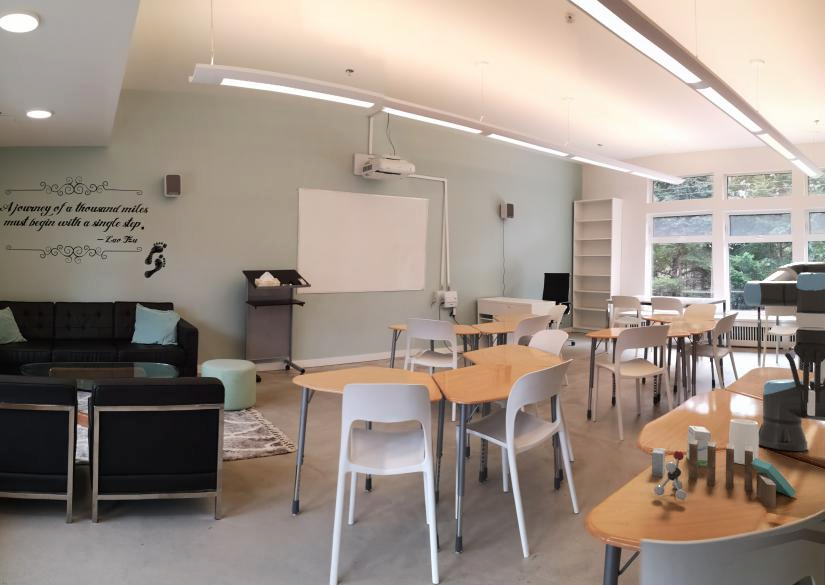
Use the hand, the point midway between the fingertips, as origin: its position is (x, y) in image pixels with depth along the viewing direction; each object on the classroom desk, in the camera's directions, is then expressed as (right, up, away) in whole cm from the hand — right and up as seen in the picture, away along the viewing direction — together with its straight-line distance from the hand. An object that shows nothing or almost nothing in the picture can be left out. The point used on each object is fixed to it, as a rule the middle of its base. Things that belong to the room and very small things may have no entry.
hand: (811, 414), depth 161 cm
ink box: (-17, -23, +29) cm, 40 cm away
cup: (-2, -23, +29) cm, 37 cm away
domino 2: (-22, -22, +12) cm, 33 cm away
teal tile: (-6, -22, +2) cm, 22 cm away
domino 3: (-17, -22, +9) cm, 30 cm away
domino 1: (-26, -22, +14) cm, 37 cm away
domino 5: (-13, -19, +1) cm, 23 cm away
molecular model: (-37, -22, +1) cm, 43 cm away
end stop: (-34, -22, +19) cm, 45 cm away
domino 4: (-13, -22, +7) cm, 27 cm away
